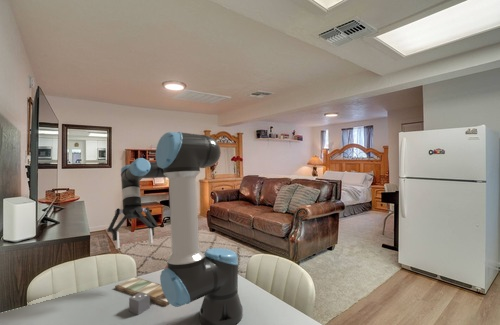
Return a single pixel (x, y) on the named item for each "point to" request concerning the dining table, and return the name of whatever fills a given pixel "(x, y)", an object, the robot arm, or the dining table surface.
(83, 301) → the dining table surface
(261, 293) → the dining table surface
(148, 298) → the die
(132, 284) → the board
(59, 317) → the dining table surface
